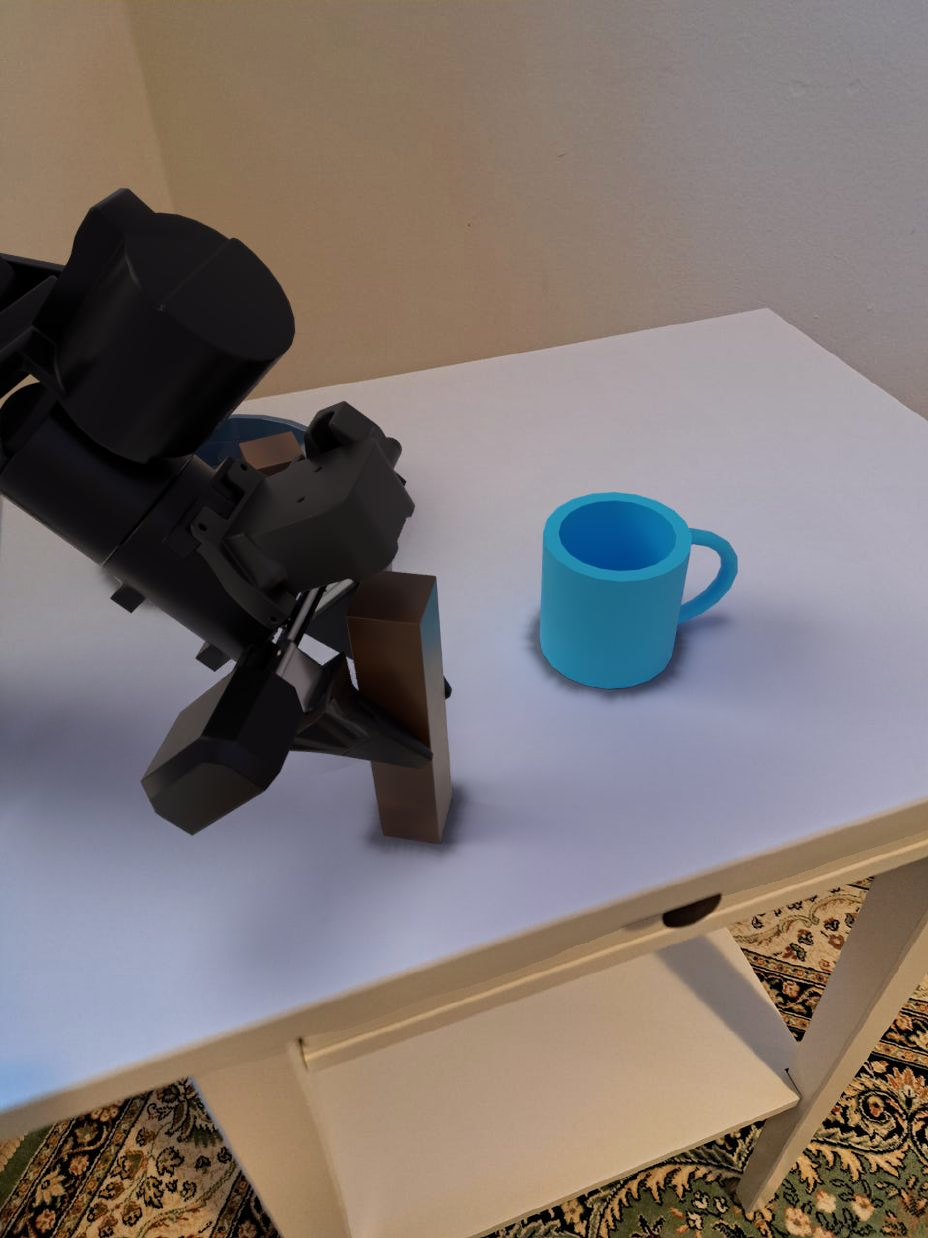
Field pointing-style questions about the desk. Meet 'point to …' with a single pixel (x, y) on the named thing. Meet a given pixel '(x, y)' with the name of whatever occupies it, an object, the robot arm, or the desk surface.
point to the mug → (620, 587)
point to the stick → (405, 695)
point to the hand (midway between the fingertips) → (436, 729)
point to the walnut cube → (271, 452)
